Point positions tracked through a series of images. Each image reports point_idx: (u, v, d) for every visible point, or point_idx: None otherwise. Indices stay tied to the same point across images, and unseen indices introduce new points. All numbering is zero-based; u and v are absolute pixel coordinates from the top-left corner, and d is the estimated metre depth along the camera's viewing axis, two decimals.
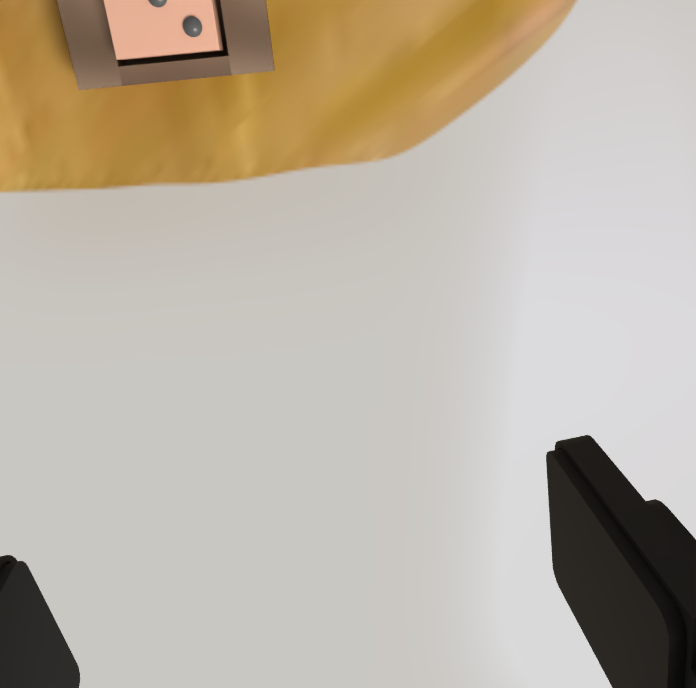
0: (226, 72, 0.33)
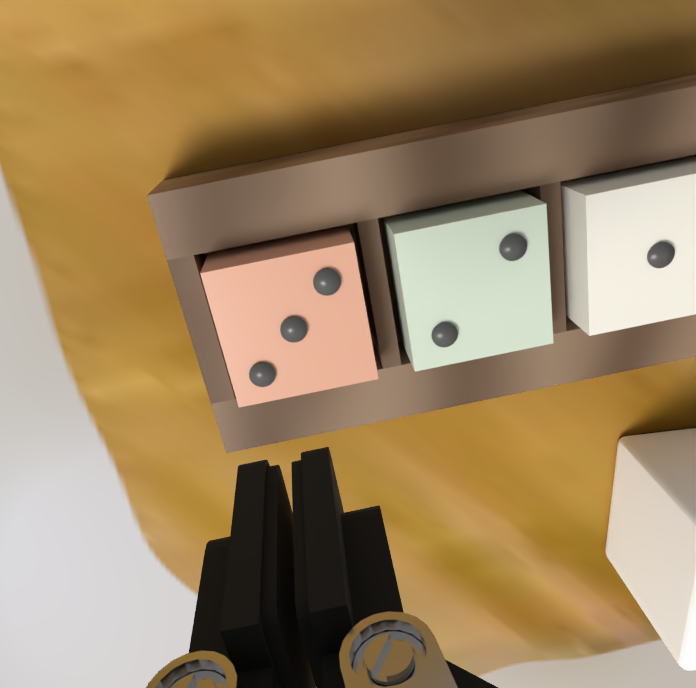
0: (213, 397, 0.24)
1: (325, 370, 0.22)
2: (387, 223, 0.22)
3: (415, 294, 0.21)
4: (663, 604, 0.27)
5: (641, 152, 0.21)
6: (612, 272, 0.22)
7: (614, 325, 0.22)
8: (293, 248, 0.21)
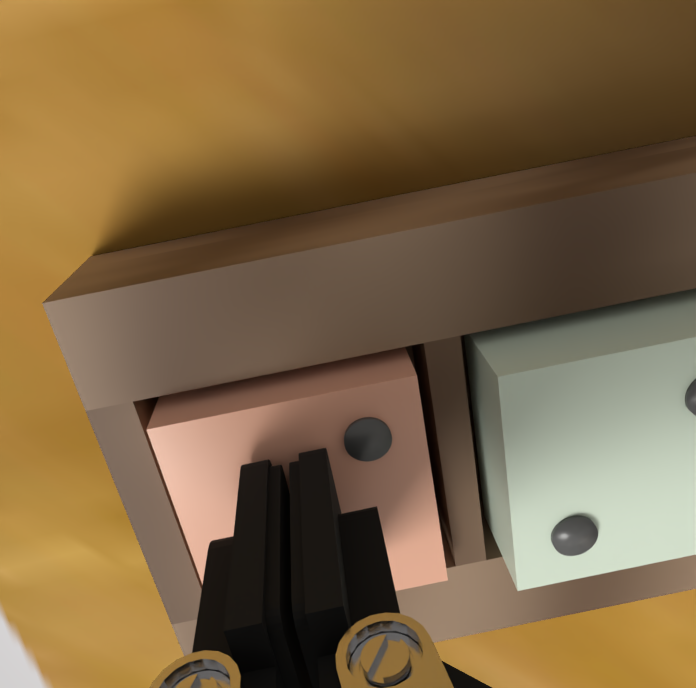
0: (174, 615, 0.14)
1: None
2: (475, 341, 0.12)
3: (528, 474, 0.12)
4: None
5: None
6: None
7: None
8: (309, 378, 0.12)
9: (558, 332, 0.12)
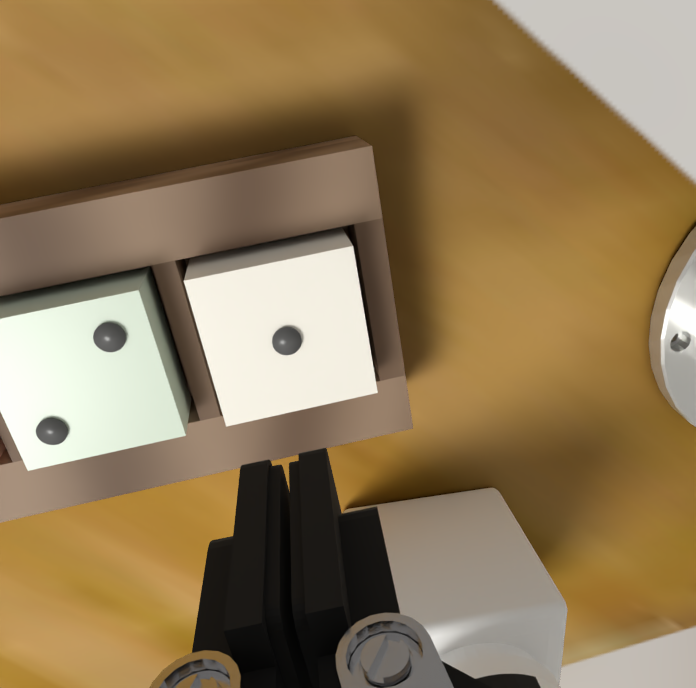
0: None
1: None
2: None
3: (5, 390, 0.19)
4: None
5: (262, 228, 0.19)
6: (236, 359, 0.20)
7: (252, 414, 0.20)
8: None
9: (30, 300, 0.19)
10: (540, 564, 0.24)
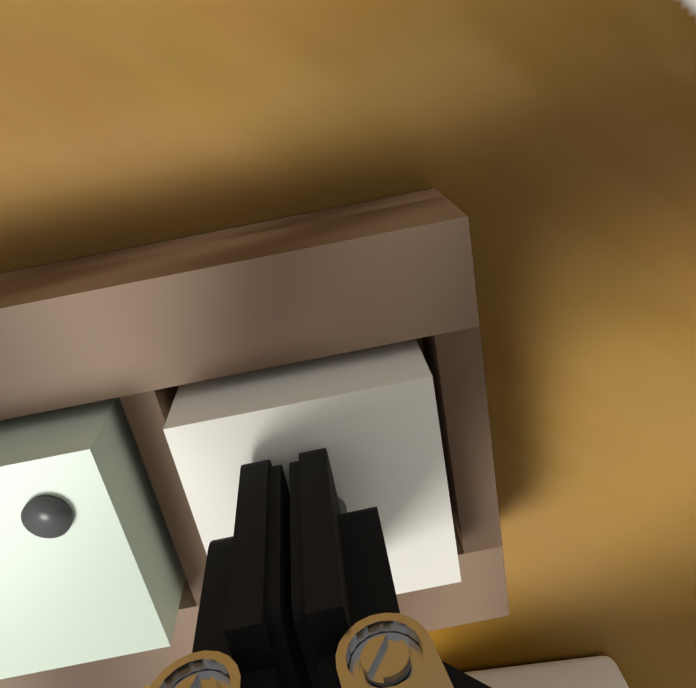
0: None
1: None
2: None
3: None
4: None
5: (290, 343, 0.12)
6: None
7: None
8: None
9: None
10: None
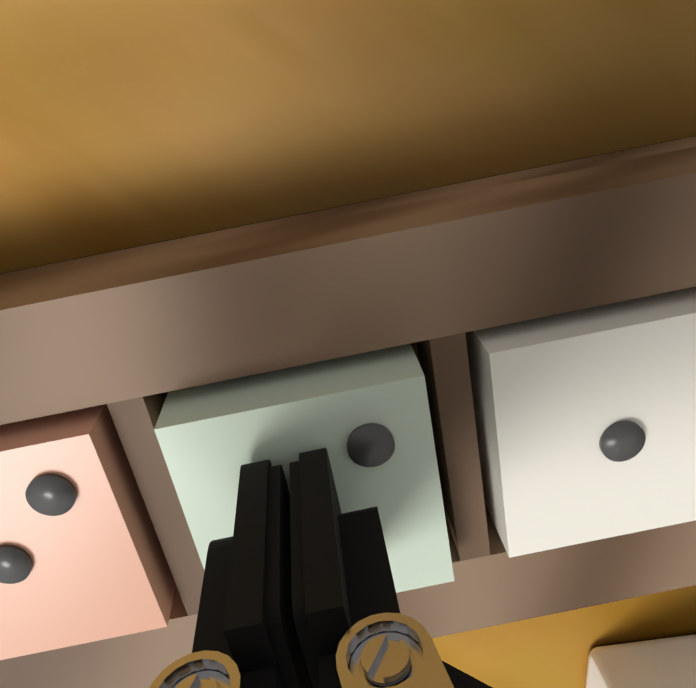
0: None
1: (76, 618, 0.14)
2: None
3: (208, 518, 0.12)
4: None
5: (608, 283, 0.12)
6: (543, 467, 0.13)
7: (549, 542, 0.14)
8: (1, 434, 0.13)
9: (243, 382, 0.13)
10: None
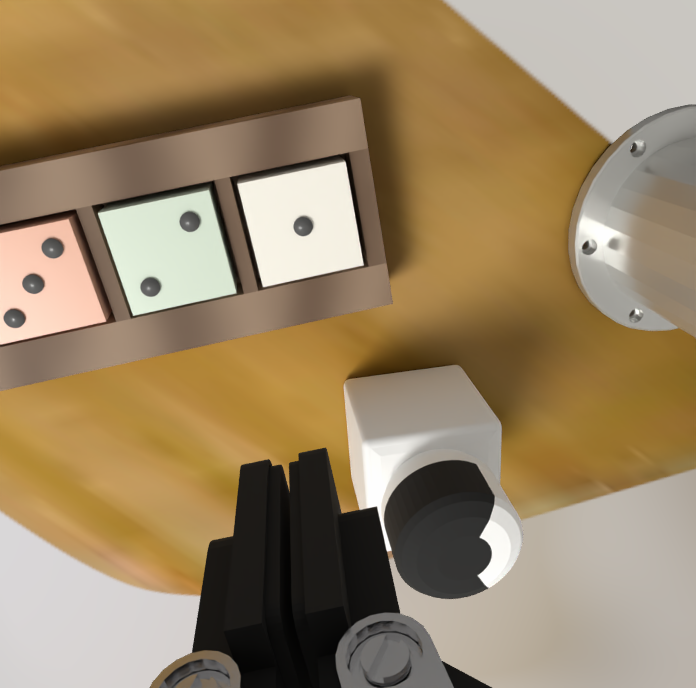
0: None
1: (63, 315, 0.30)
2: (105, 206, 0.30)
3: (122, 257, 0.29)
4: (362, 504, 0.35)
5: (287, 155, 0.29)
6: (270, 239, 0.30)
7: (280, 279, 0.31)
8: (29, 224, 0.29)
9: (136, 200, 0.30)
10: (485, 403, 0.34)
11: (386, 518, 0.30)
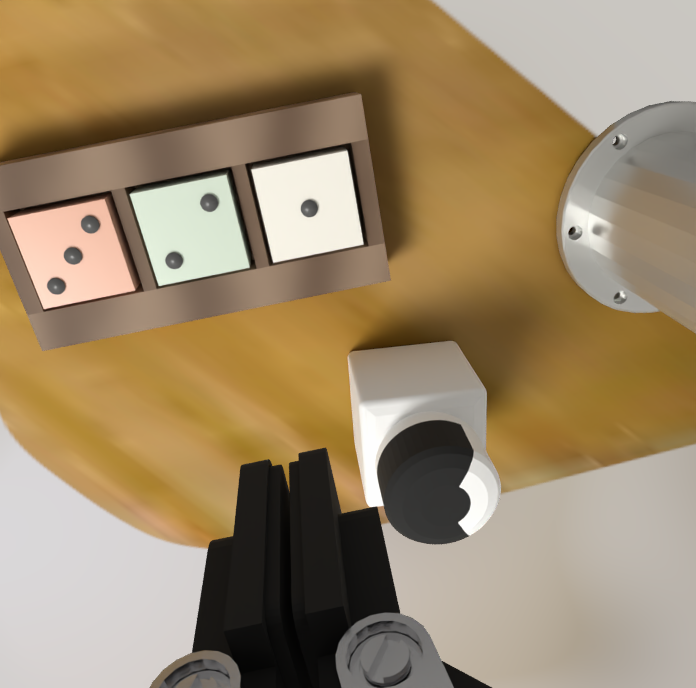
0: (28, 310, 0.35)
1: (98, 284, 0.34)
2: (136, 188, 0.34)
3: (150, 233, 0.33)
4: (361, 463, 0.38)
5: (296, 144, 0.33)
6: (280, 219, 0.34)
7: (288, 255, 0.34)
8: (70, 203, 0.33)
9: (163, 184, 0.34)
10: (474, 373, 0.37)
11: (378, 471, 0.34)
